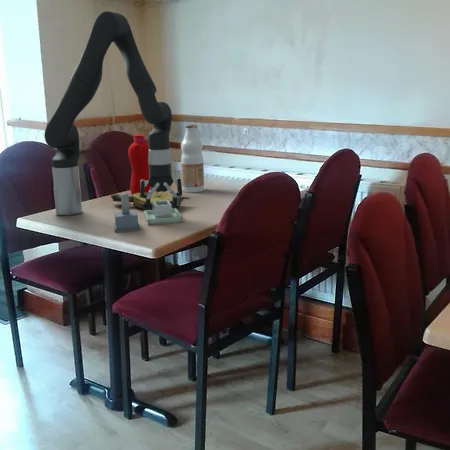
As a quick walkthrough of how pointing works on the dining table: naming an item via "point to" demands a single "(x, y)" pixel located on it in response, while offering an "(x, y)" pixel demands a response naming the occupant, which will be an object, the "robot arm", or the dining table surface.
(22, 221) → the dining table surface
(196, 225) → the dining table surface
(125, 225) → the grey peg stand
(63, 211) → the robot arm
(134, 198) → the pulley block
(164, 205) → the gray open box
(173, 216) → the tray
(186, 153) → the fruit juice
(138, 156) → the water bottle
